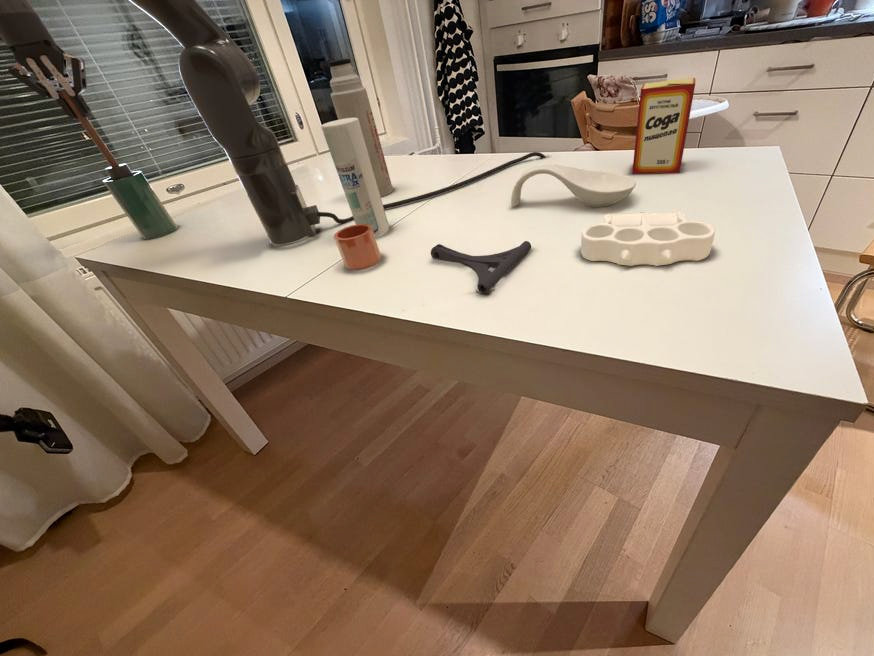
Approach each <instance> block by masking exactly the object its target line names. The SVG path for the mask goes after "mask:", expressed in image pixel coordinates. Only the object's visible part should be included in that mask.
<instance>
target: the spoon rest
mask: <svg viewBox="0 0 874 656" xmlns="http://www.w3.org/2000/svg"><path fill="white" fill-rule="evenodd" d="M540 174H541V175H542V174H545V175H550V176H552V177H554V178H556V179H557V180H559V181H560V182H561V183H562V184H563V185H564V186H565V187H566V188H567V189H568V190H569V191H570V192H571V193H572V195H574V196H575V198H577V199H578V200H579V201H581V202H582V203H583V204H584V205H586V206H589V207H594V208H603V207H608V206H611V205H614V204H616V203H619V202H620V201H622V200H624V199H625V198H627V197H628V196H629V195H630V194H631V193H632V192H633V190H635V188H636V185H637V181H636V180H635V179H634V178H633V177H631V176H629V175H626V174H622V173H617V172H610V171H601V170H592V169H591V170H590V169H585V168H579V167H573V166H568V165H563V164H556V163H541V164H537V165H534V166H532V167H529V168H528V169H527V170H525V171H524V172H523V173H522V174H521V175H520V177H519V178H518V179H517V181H516V182H515V185H514V186H513V189H512V193H511V197H510V205H511V207H516V206H517V205H518V204H519V203H520V201H521V197H522V189H523V185H524V184H525V183H526V181H527V180H529V179H531V178H532V177H534V176H536V175H540Z"/></svg>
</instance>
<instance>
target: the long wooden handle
mask: <svg viewBox="0 0 874 656" xmlns="http://www.w3.org/2000/svg"><path fill="white" fill-rule="evenodd" d="M59 92H60V94H61V95H62V96H63V98H64V99H65V101H66V102H67V104H68V105H69V107H70V108H71V109H72V111H73V112H74V114H75V115H76V117H77V118H78V119H77V121H79V122H80V124H81V125H82V127H83V128H84V130H85V131H86V132H87V134H88V135H89V137H90V139H91V140H92V141H93V143H94V144H95V146H96V148H98V150H99V152H100V153H101V154H102V156H103V157H104V159H105V160H106V162H107V163H108V164H109V166H108V167H106V168H104V171H105V172H106V174H107V175H108V176H109V178H110V177H111V179H112V180H117V179H121V178H125V177H129V176H132V175H133V173H132V172H133V171H132V170H131V168H130V167H129V166H128V164H127V163H120V164H119V163H118V161H117V160H116V158H115V157H114V155H113V154H112V152H111V151H110V149H109V148H108V146H107V145H106V143H105V142H104V139H102V137H101V136H100V134H99V133H98V132H97V130H96V128H95V127H94V125H93V124H92V123H91V121H90V120H89V119H88V117H83V116H82V114H81V113H80V111H79V110H78V108H77V107H76V106H75V104H74V103H73V101H72V100H71V98H70V97H71V96H70V95H69V94H68V93H67V91H66V90H65V89H61V90H60V91H59Z"/></svg>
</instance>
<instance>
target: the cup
mask: <svg viewBox="0 0 874 656" xmlns="http://www.w3.org/2000/svg"><path fill="white" fill-rule="evenodd" d="M131 172H132V173H133V175H132V176H129V177H125V178H121V179H117V180H112V179H111V177H110V176H109V177H108V178H106V179H103V180H102V183H103V184H104V185H105V187H106V188H107V190H108V191H109V193H110V194H111V195H112V197H113V199H114V200H115V201H116V202H117V204H118V205H119V207H120V208H121V209H122V211H123V212H124V213H125V215H126V216H127V217H128V219H129V221H130V222H131V223H132V225H133V226H134V227H135V229H136V230H137V231H138V233H139V235H141V237H142V238H143V239H144V240H152V239H157V238H161V237H164V236H167V235H170V234H172V233H173V232H175V231H176V230H178V226H177V224H176V222H175V221H174V220H173V218H172V216H171V215H170V214H169V212H168V210H167V209H166V207H165V206H164V204H163V203H162V201H161V199H160V198H159V196H158V195H157V194H156V192H155V190H154V189H153V187H152V186H151V184H150V183H149V181H148V179H147V178H146V177H145V175H144V174H143V171H141V170H135V171H131Z"/></svg>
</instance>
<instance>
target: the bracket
mask: <svg viewBox="0 0 874 656" xmlns="http://www.w3.org/2000/svg"><path fill="white" fill-rule="evenodd" d="M531 249H532V243H531V242H529V241H528V240H524V241H523V242H522V243H521V244H520V245H519V246H516V247H513V248H511V249H508V250H506V251H505V250H504V251H501V252H497V253H493V254H485V255H471V254H467V253H464V252H460V251H457V250H455V249H452V248H449V247H447V246H445V245H443V244H440V243H438V244H436V245H435V246H433V247H432V248H431V249H430V256H431V258H432V260H433V259H434V260H439V261H446V262H452V263H458V264H459V263H460V264H464V265H466V266H468V267H470V268H471V269H473V270H474V271H475V273H476V275H477V277H478V279H477V286H476V287H477V291H478V292H479V293H481V294H483V295H485V294H487V293H488V292H489V291H491V290H492V289H493V288H494V286H495V285H496V284H497V283H498V282H499V281H500V280H501V279H502V278H503V277H504V276H505V275H506V274H508V272H509V271H510V270H511V269H512V268H514V266H515V265H516V264H518V263H519V262H520V261H521V259H522V258H524V257H525V256H526V255H527V254H528V252H529V251H530V250H531ZM489 268H492V269H493V270H492V271H491V270H489Z"/></svg>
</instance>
